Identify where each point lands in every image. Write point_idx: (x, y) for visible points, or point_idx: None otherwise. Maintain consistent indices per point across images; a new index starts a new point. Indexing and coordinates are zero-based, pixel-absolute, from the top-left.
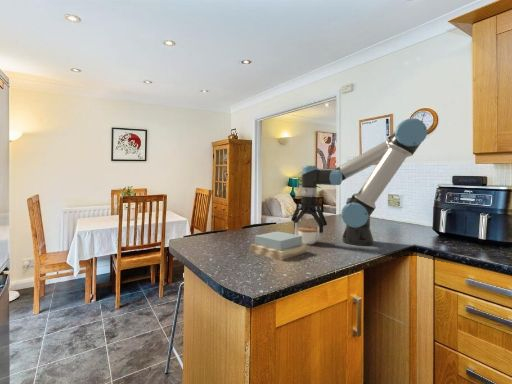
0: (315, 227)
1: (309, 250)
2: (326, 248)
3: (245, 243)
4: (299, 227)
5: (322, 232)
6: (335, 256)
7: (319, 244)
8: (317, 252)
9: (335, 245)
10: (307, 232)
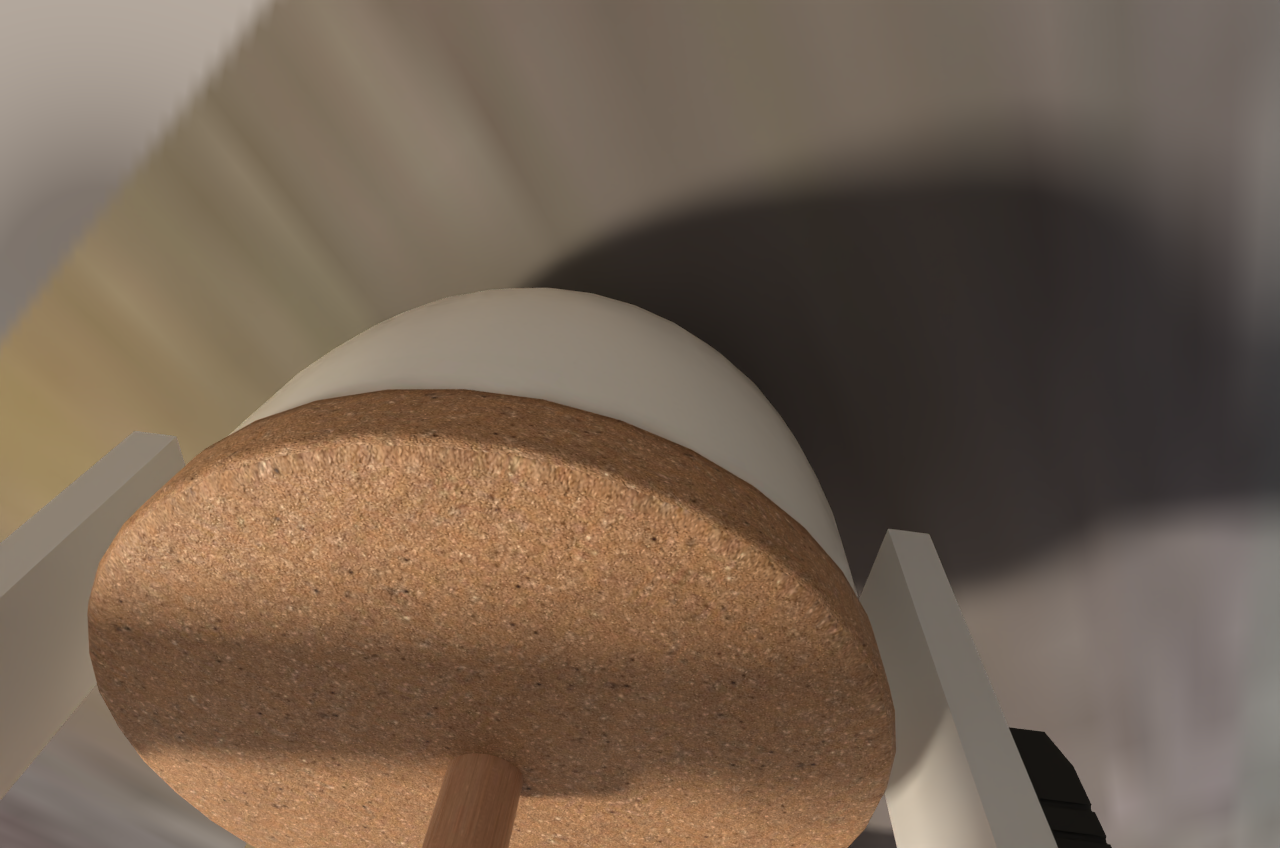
0: (644, 601)
1: None
2: (1052, 603)
3: (10, 828)
4: (204, 802)
5: (1045, 755)
6: (1227, 837)
7: (840, 422)
8: None
9: (1259, 297)
10: None
